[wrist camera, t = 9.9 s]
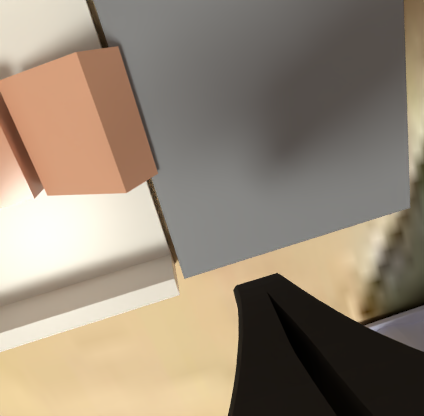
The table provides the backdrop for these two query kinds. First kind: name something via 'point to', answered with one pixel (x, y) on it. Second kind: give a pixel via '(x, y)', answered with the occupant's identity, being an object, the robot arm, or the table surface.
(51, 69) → the tile
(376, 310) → the table surface
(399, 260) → the table surface
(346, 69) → the grey flat block
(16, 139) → the tile
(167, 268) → the tray
